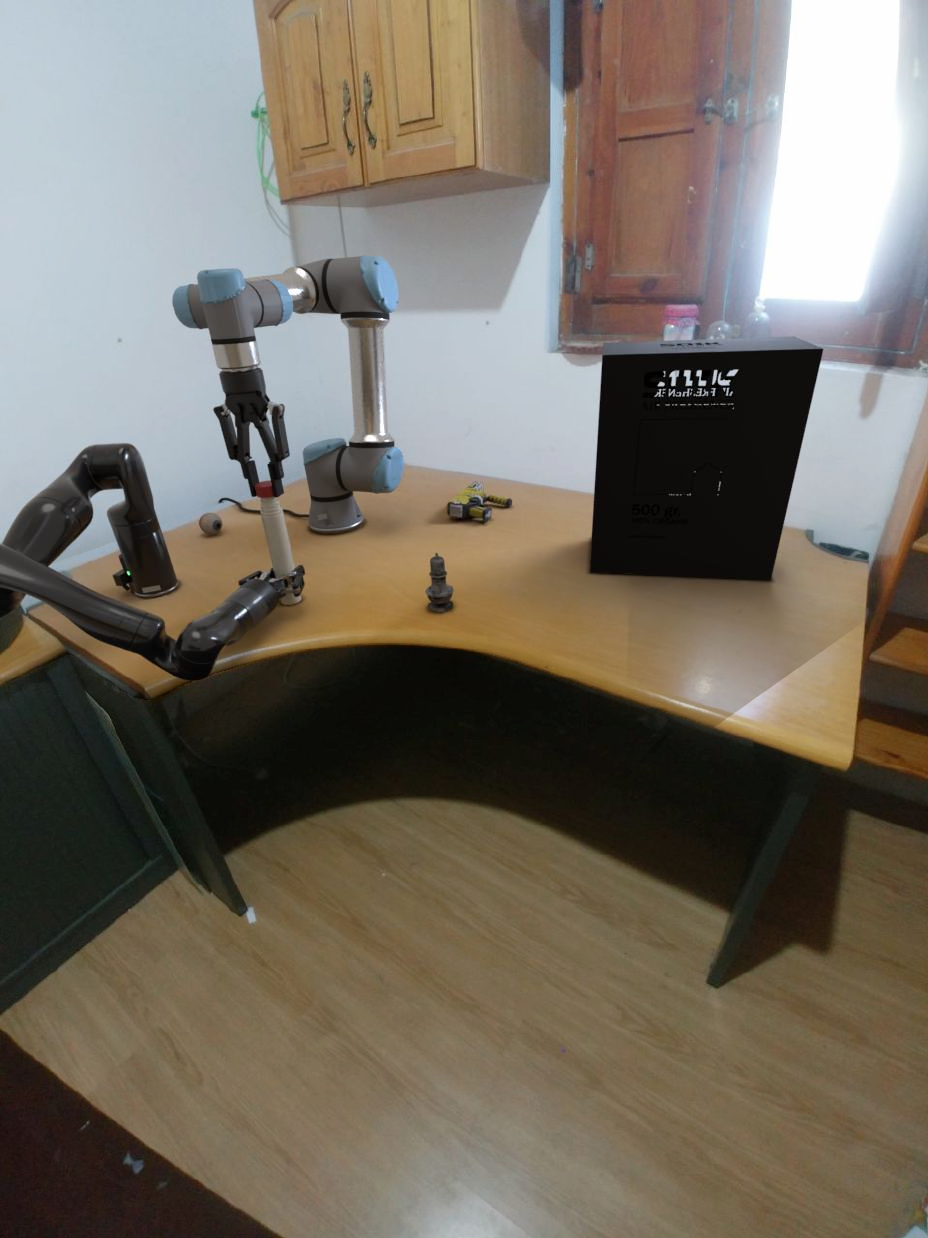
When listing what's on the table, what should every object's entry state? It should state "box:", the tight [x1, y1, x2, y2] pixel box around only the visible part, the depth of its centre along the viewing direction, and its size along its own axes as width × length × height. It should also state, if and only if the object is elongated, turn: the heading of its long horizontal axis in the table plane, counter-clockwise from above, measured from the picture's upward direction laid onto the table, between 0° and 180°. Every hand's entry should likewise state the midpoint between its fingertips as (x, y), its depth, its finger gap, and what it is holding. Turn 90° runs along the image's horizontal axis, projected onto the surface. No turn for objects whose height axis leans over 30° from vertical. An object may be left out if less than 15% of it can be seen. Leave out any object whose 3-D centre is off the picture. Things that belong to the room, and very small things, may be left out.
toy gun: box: [446, 480, 513, 523], centre depth 174 cm, size 5×24×15 cm
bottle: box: [259, 496, 302, 606], centre depth 125 cm, size 4×4×26 cm
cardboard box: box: [589, 336, 824, 581], centre depth 128 cm, size 38×20×45 cm, turn 78°
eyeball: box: [198, 512, 223, 536], centre depth 167 cm, size 6×6×6 cm
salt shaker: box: [424, 552, 455, 613], centre depth 122 cm, size 6×6×12 cm
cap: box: [254, 480, 274, 499], centre depth 119 cm, size 4×4×2 cm
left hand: (291, 568), depth 130 cm, fingers closed on bottle, 4 cm apart
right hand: (268, 494), depth 119 cm, fingers closed on cap, 4 cm apart
